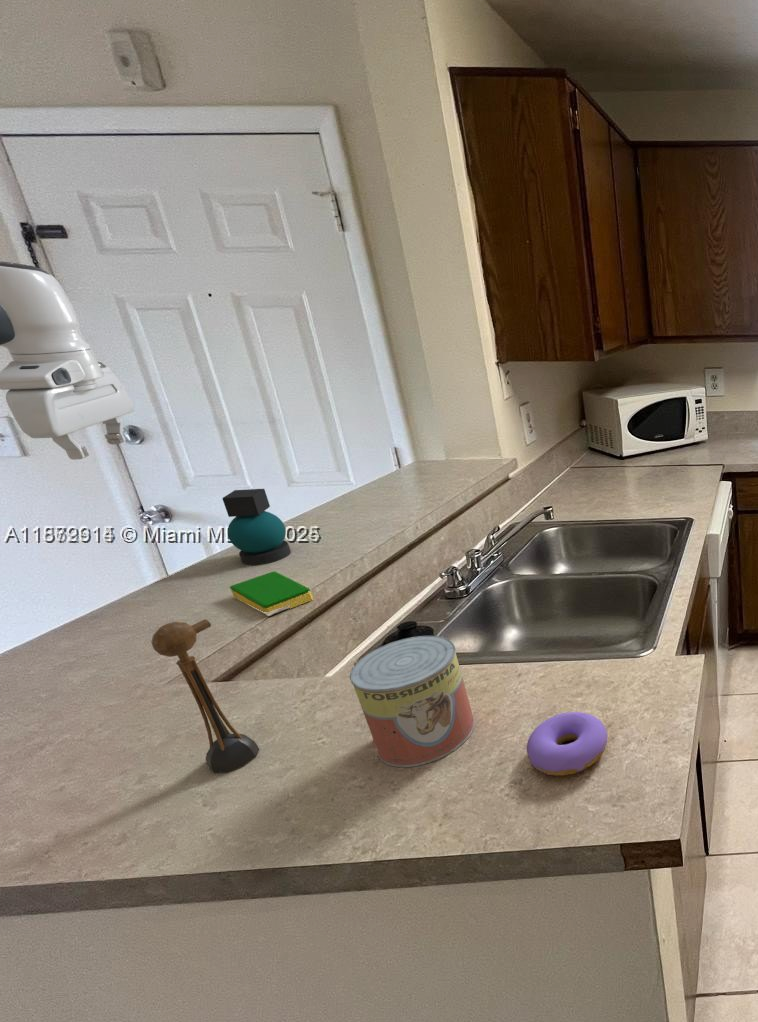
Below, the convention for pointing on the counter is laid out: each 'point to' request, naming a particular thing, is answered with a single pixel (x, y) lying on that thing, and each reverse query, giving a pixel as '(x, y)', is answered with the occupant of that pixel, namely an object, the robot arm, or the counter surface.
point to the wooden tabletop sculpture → (205, 698)
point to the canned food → (414, 700)
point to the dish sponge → (271, 592)
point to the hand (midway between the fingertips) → (99, 450)
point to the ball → (259, 538)
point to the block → (246, 502)
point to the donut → (570, 756)
